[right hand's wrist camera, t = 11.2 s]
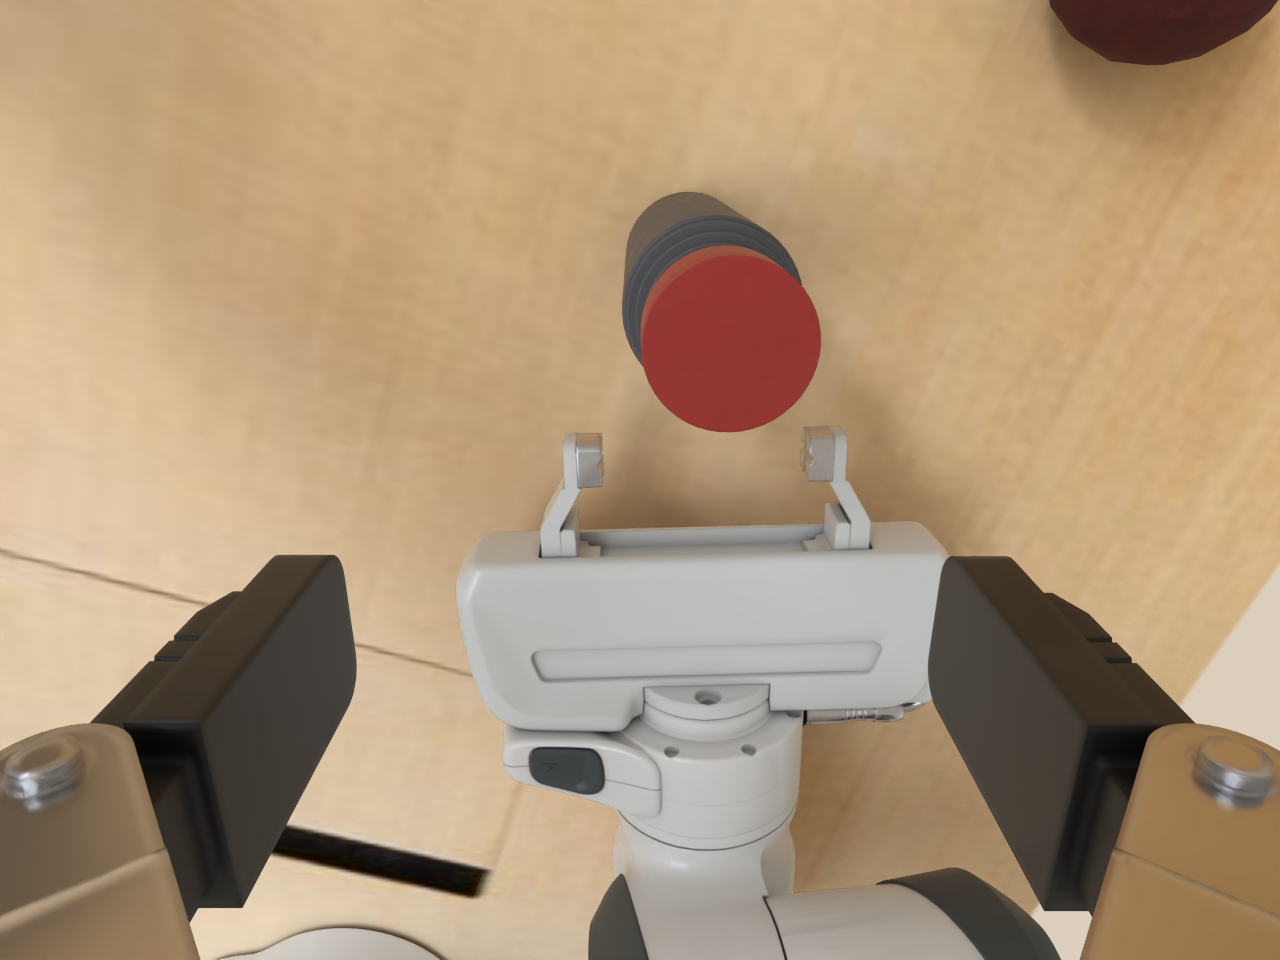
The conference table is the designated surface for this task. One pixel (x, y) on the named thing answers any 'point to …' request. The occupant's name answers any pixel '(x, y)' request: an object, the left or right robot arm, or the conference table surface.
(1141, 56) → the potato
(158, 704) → the right robot arm
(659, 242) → the bottle
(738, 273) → the cap
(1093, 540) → the conference table surface
